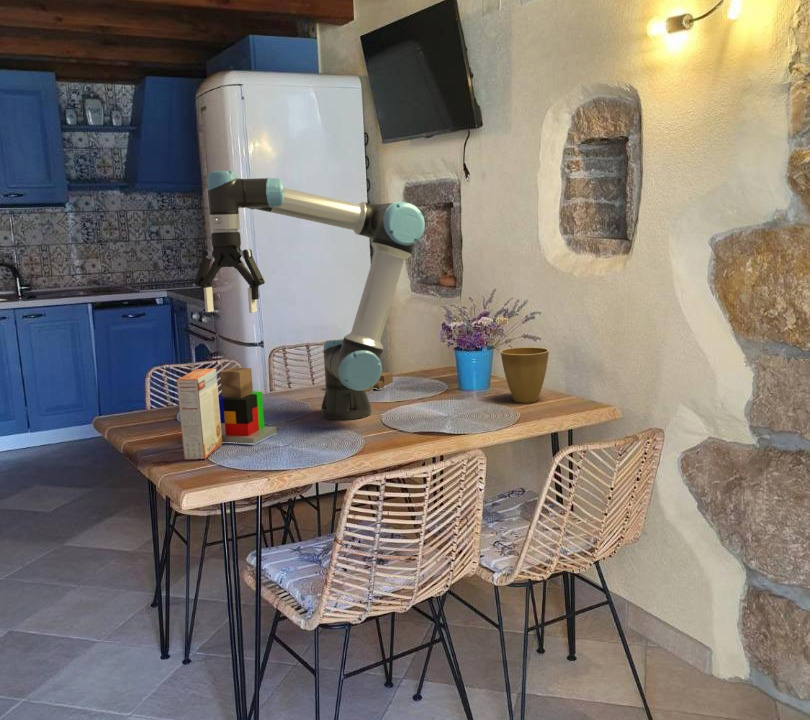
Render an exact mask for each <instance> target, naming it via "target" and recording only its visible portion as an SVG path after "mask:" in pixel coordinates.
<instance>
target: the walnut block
mask: <svg viewBox="0 0 810 720" xmlns="http://www.w3.org/2000/svg"><path fill="white" fill-rule="evenodd" d="M252 373H253V372H252V367H230V368H227V369H223V370H221V371H219V375H220V378H219V379H220V391H221V394H222V397H231V398H242V397H245V396H247V395H250V394H252V393H253V391H254V390H253V389H254V388H253V375H252Z"/></svg>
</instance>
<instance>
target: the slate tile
mask: <svg viewBox="0 0 810 720" xmlns="http://www.w3.org/2000/svg"><path fill="white" fill-rule="evenodd" d="M277 429H278V428H277V426H265V425H264V427H263V428H261V429H260V430H258V431H256V432H255V433H253V434H251V435H250V436H230V435H222V442H235V443H236V442H237V443H256V442H258V441H260V440H262V439H264V438H266V437H268V436H270V435H272V434H274V433H277V434H278V430H277Z"/></svg>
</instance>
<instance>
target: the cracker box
mask: <svg viewBox="0 0 810 720" xmlns="http://www.w3.org/2000/svg"><path fill="white" fill-rule="evenodd" d="M176 387H177V398H178V399H177V400H178V406H179V408H178V409H179V418H180V419H179V420H180V427H181V437H182V447H183V459H184V461H195V460H196V461H197V460H198V459H201V461H203V460H202V459H205V460H207V459H208V458H209V457H208V455H210V454H211V453H212V452H213V451H214V450H215V449H216V448H218V447H219V446H220V445H221V444H222V445H223V443H222V431H221V420H220V409H219V398H218V396H219V388H218V377H217V369H216V368H195V369H194V370H192V371H190V372H188V373H187V374H185V375H183V376H181V377H180V378H177V379H176ZM222 445H221V446H222ZM221 446H220V447H221ZM220 447H219V448H220ZM219 448H218V449H219ZM215 451H216V450H215ZM215 451H214V452H215ZM214 452H213V453H214ZM213 453H212V454H213ZM212 454H211V455H212ZM211 455H210V456H211ZM207 457H208V458H207ZM206 458H207V459H206ZM198 461H199V460H198Z"/></svg>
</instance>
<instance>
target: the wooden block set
mask: <svg viewBox="0 0 810 720" xmlns="http://www.w3.org/2000/svg"><path fill="white" fill-rule="evenodd" d="M393 380H394V379H393V373H392V372H385V371H382V373H381V376H380V379H379V380H378V382H377V383H376V384H375V385H374V386H373V387H371V388H369V389H367V390H365V391H366V392H369V391H371V390H373V388H377V389H380V388H383V387H384V386H385V385H388V384H390V383H393V384H394V382H393ZM383 389H384V388H383ZM373 391H374V390H373Z"/></svg>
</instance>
